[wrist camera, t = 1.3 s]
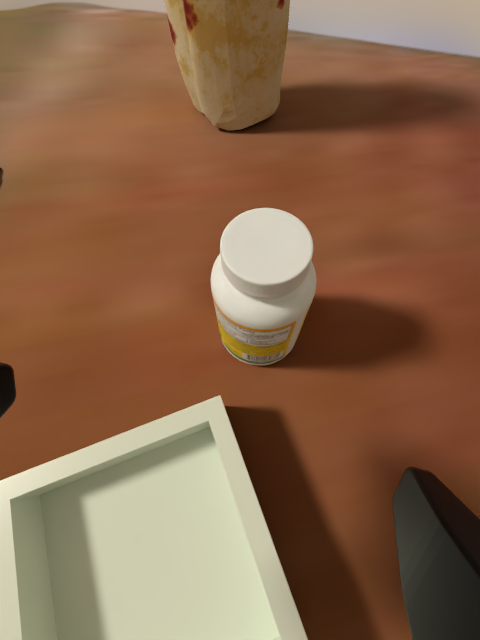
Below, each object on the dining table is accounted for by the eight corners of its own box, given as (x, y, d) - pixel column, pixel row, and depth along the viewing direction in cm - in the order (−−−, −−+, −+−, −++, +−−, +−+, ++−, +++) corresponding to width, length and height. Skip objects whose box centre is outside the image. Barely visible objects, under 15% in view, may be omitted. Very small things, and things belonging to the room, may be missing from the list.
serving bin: (308, 639, 16) (323, 684, 13) (62, 764, 14) (9, 849, 11) (224, 405, 21) (220, 395, 17) (30, 482, 19) (-14, 486, 16)
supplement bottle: (259, 384, 21) (267, 327, 12) (204, 329, 23) (176, 244, 14) (314, 329, 23) (356, 243, 14) (258, 281, 24) (264, 177, 15)
